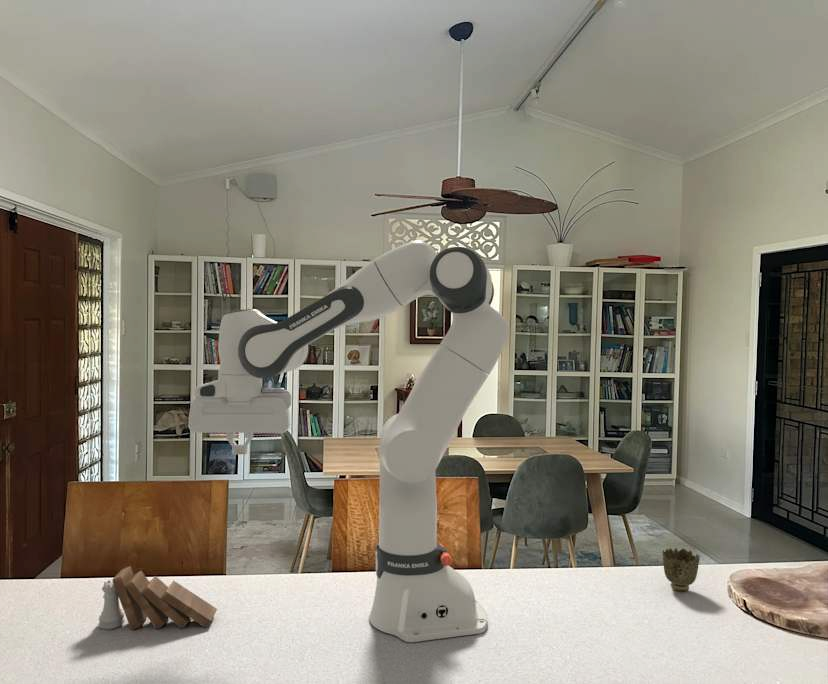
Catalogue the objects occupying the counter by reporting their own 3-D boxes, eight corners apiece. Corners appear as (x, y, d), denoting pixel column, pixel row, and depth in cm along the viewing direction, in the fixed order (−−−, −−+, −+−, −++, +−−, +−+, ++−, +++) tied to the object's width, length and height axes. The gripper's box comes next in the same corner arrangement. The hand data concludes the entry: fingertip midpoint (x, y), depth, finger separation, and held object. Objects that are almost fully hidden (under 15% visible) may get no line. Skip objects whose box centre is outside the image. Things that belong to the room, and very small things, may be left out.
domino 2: (171, 612, 123) (140, 570, 122) (164, 624, 118) (131, 580, 117) (164, 617, 123) (133, 575, 122) (156, 629, 118) (124, 586, 117)
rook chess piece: (129, 620, 121) (129, 578, 121) (114, 631, 117) (114, 588, 116) (108, 618, 122) (108, 576, 122) (92, 629, 117) (92, 586, 117)
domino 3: (194, 610, 123) (155, 575, 122) (187, 622, 118) (146, 586, 117) (188, 616, 123) (149, 581, 122) (181, 628, 118) (140, 592, 117)
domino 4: (217, 609, 124) (173, 580, 123) (211, 621, 119) (165, 591, 118) (212, 615, 123) (168, 587, 123) (206, 628, 118) (160, 598, 118)
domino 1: (148, 614, 122) (130, 566, 122) (139, 627, 117) (120, 576, 117) (140, 617, 122) (122, 569, 122) (131, 630, 117) (112, 579, 117)
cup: (654, 585, 141) (655, 549, 141) (681, 581, 143) (682, 546, 143) (677, 599, 134) (678, 561, 134) (706, 595, 136) (707, 558, 136)
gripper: (292, 386, 137) (292, 450, 137) (194, 385, 135) (193, 451, 136) (289, 389, 131) (289, 456, 131) (186, 388, 129) (185, 457, 129)
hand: (239, 453), depth 133 cm, fingers closed
